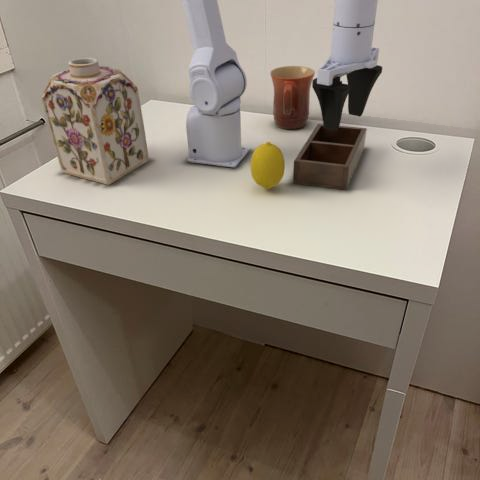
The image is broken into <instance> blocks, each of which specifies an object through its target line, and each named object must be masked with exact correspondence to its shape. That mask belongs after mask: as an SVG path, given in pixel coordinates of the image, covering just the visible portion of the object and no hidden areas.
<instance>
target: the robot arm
mask: <svg viewBox="0 0 480 480" xmlns="http://www.w3.org/2000/svg"><path fill="white" fill-rule="evenodd" d="M378 1H379V0H334V9H333V21H332V32H331V34H332V35H331V45H330V56H329V57H328V58H327V60H326V61H325V62H324V64H323V65H322V66H320V67H319V68H317V77H316V78H315V77H314V78H313V80H312V83H311V88H312V89H313V91H314V93H315V95H316V98H317V100H318V103H319V107H320V112H321V119H322V124H323V125H324V129H327V130H331V131H337V130H338V128H339V126H341V120H342V117H343V116H342V115H343V111H344V106H345V103H346V100H347V112H348V115H351V116H356V117H362V116H363V114H364V111H365V109H366V106H367V102H368V100H369V97H370V94H371V92H372V90H373V88H374V86H375V84H376V82H377V81H378V79H379V77H380V76H381V75H382V73H383V66H382V65H378V61H379V54H380V48H379V47H373V40H374V31H375V24H376V16H377V8H378ZM181 4H182V8H183V13H184V16H185V21H186V24H187V29H188V32H189V36H190V40H191V44H192V48H193V55H192V57H191V60H190V62H189V65H188V69H187V71H188V75H189V96H190V100H191V102H192V104H193V106H191V107H190V108H189V110H188V112H187V114H186V120H185V121H186V122H185V130H186V139H187V148H188V150H187V151H188V158H187V162H189V163H196V164H202V165H211V166H217V167H228V168H236V167H237V166H238V165H239V164H240V162H241V161H242V160H243V159H244V158H245V157H246V155H247V154H248V153H249V152H250V149H249V148H248V147H242V123H241V122H242V119H241V97H242V96H243V95H244V93H245V92H246V90H247V86H248V85H247V84H248V82H247V81H248V80H247V75H246V73H245V71H244V68H243V67H242V66H241V64H240V62H239V60H238V55H237V52H236V51H235V50H234V48H233V47H232V46H230V45H229V44H228V43H227V40H226V36H225V31H224V26H223V22H222V21H223V20H222V17H221V11H220V7H219V3H218V0H181ZM344 76H346V80H347V81H346V82H347V83H343V80H341V78H342V77H344Z"/></svg>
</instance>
